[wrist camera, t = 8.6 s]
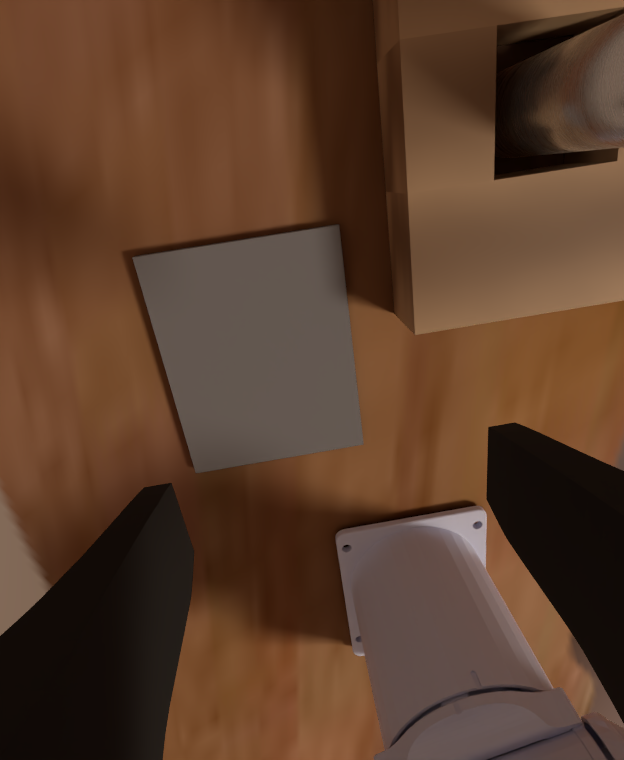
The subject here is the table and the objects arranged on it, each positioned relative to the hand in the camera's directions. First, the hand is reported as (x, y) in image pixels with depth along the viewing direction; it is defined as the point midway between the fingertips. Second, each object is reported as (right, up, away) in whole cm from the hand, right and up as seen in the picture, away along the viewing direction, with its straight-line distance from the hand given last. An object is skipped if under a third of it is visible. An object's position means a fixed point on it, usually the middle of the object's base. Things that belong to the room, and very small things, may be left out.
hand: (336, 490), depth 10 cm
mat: (-3, +3, +10) cm, 11 cm away
